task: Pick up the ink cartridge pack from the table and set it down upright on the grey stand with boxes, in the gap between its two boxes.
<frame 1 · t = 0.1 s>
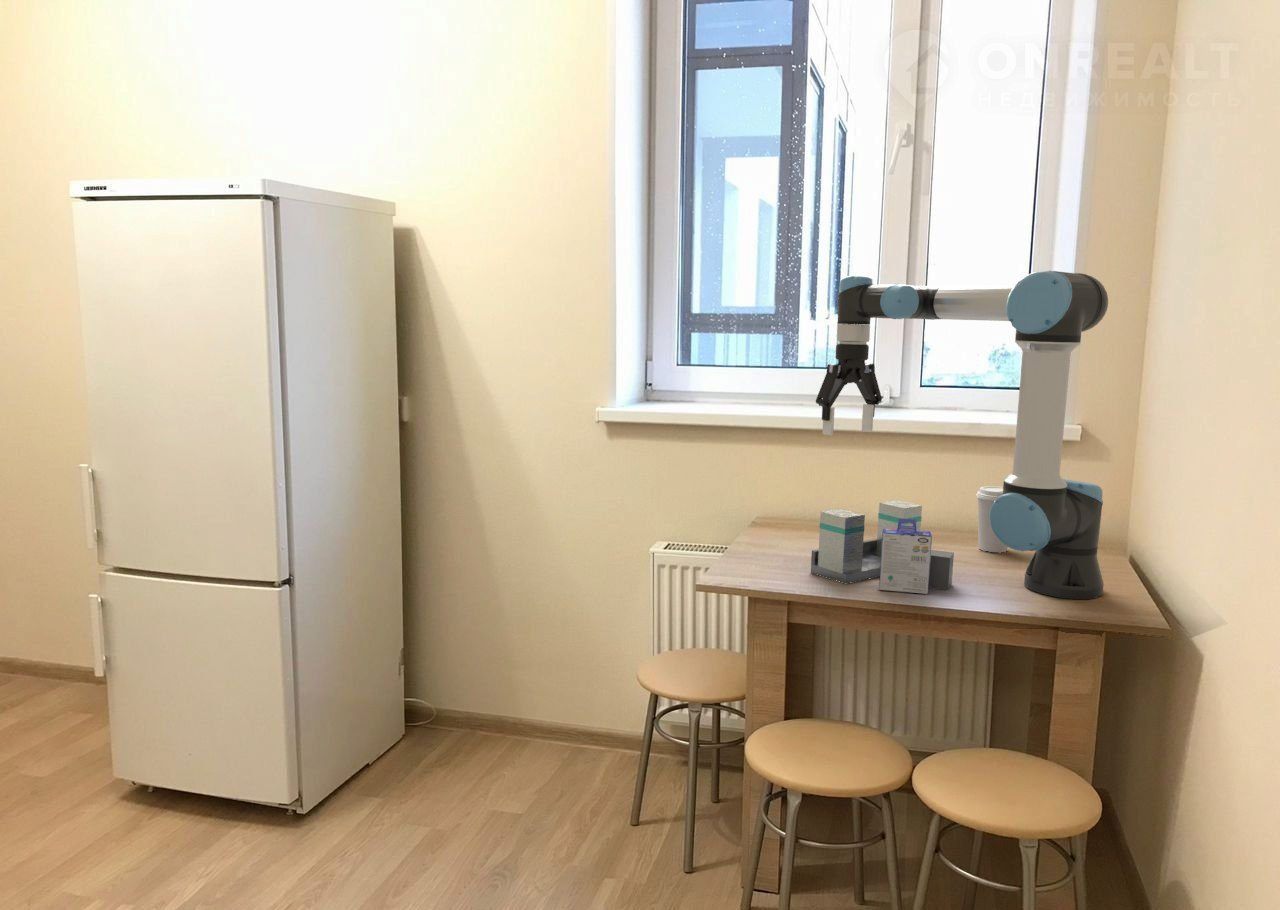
hand: (847, 433, 226), 28 cm above the table, tool pointing down, fingers open, 13 cm apart
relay: (932, 585, 200), on the table
grey stand with boxes: (866, 570, 210), on the table
ink cartridge box: (903, 590, 196), on the table
coffee cup: (992, 550, 231), on the table
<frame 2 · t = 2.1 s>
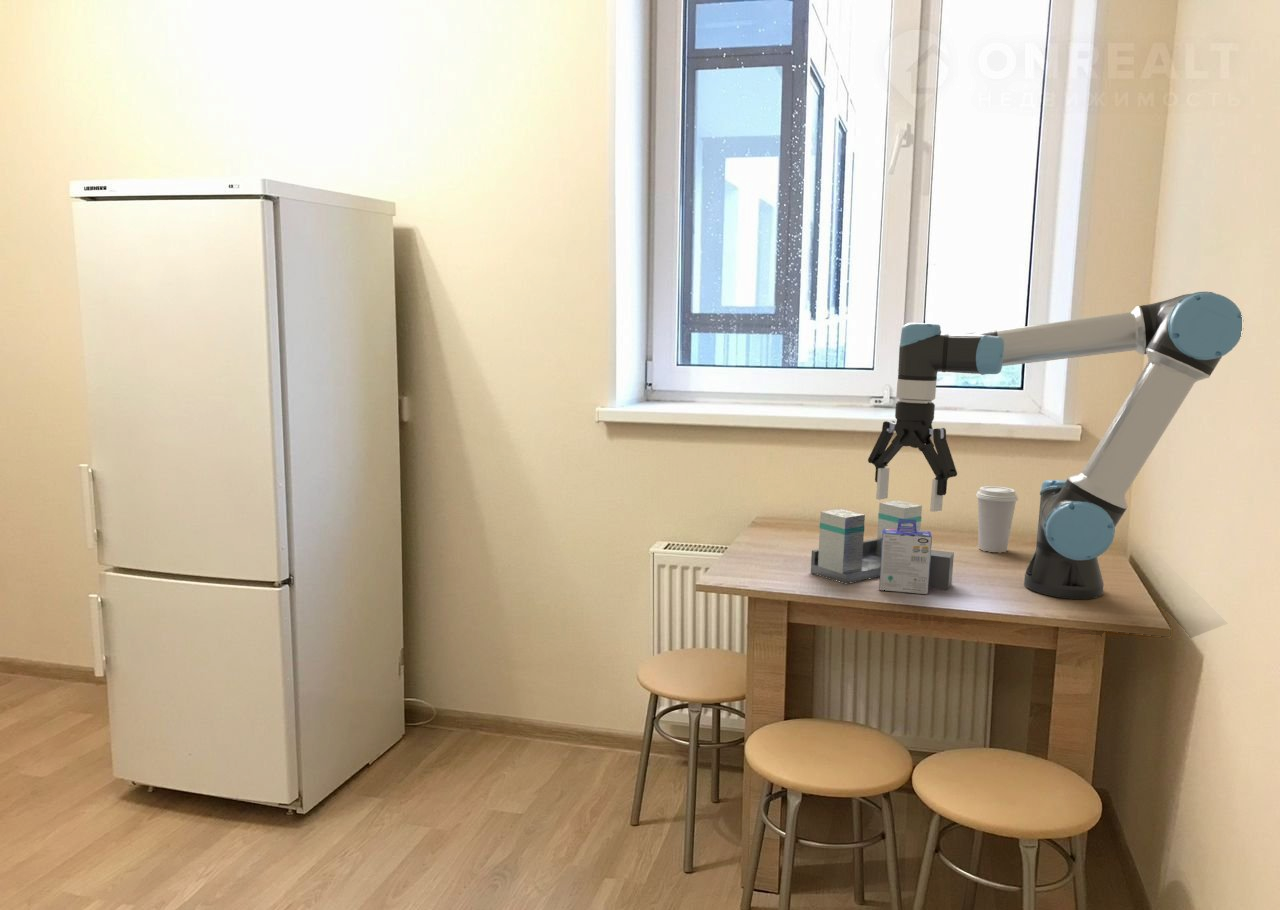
hand: (908, 504, 194), 18 cm above the table, tool pointing down, fingers open, 13 cm apart
nothing on the table moved.
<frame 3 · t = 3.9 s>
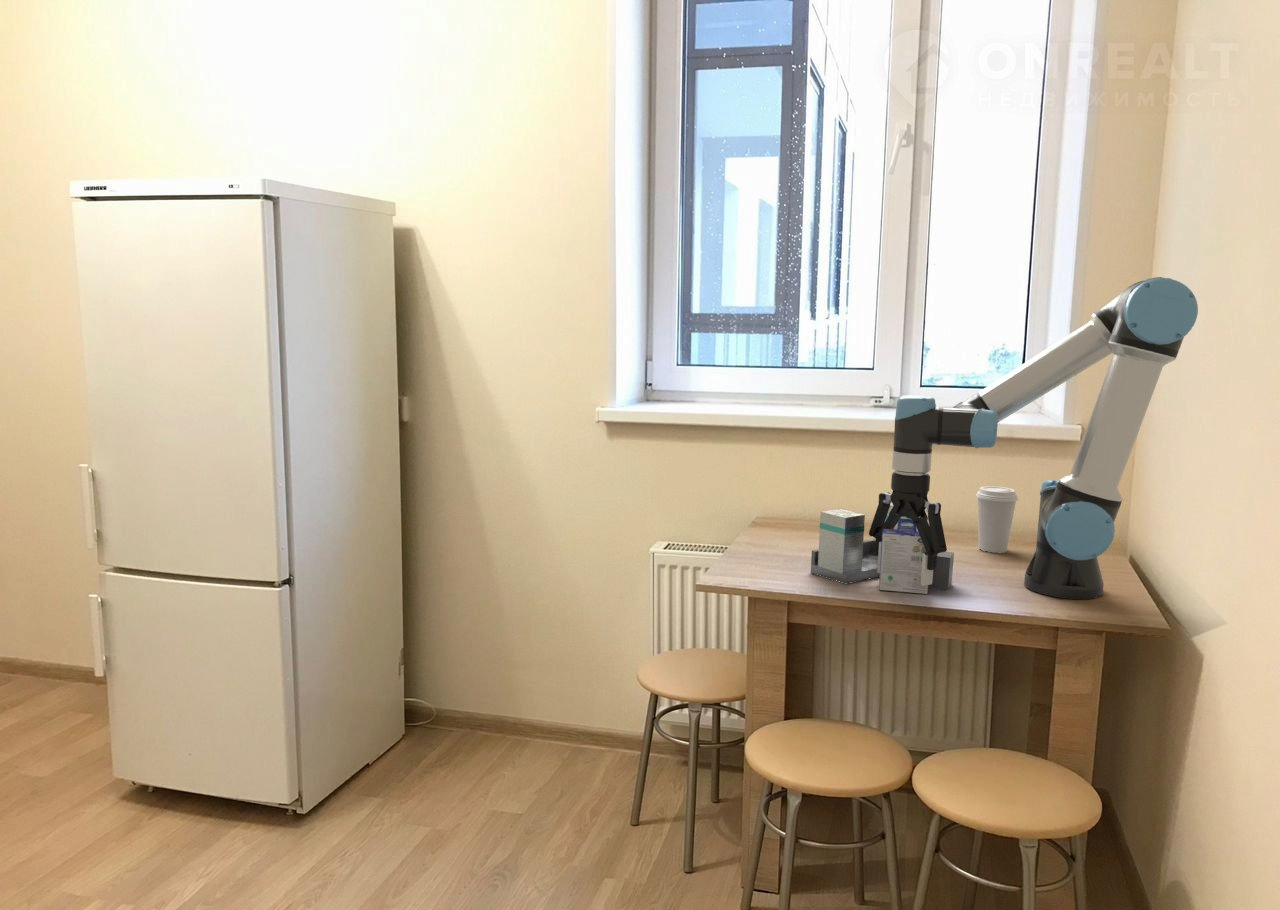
hand: (904, 578, 196), 2 cm above the table, tool pointing down, fingers closed on ink cartridge box, 10 cm apart
ink cartridge box: (903, 590, 196), on the table, touching gripper
everything else where it was.
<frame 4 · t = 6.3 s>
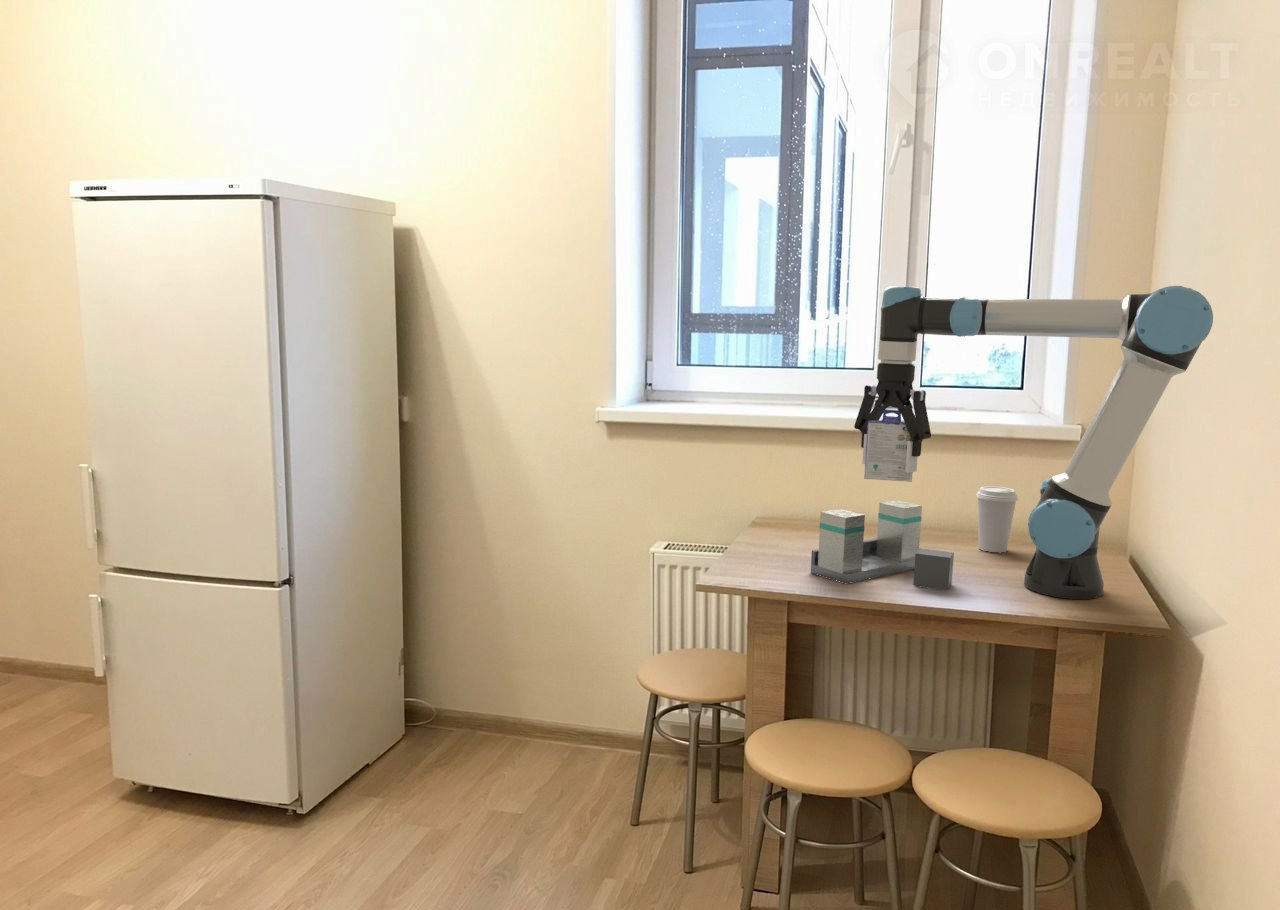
hand: (888, 467, 200), 24 cm above the table, tool pointing down, fingers closed on ink cartridge box, 10 cm apart
ink cartridge box: (887, 480, 200), point 22 cm above the table, touching gripper
everything else where it was.
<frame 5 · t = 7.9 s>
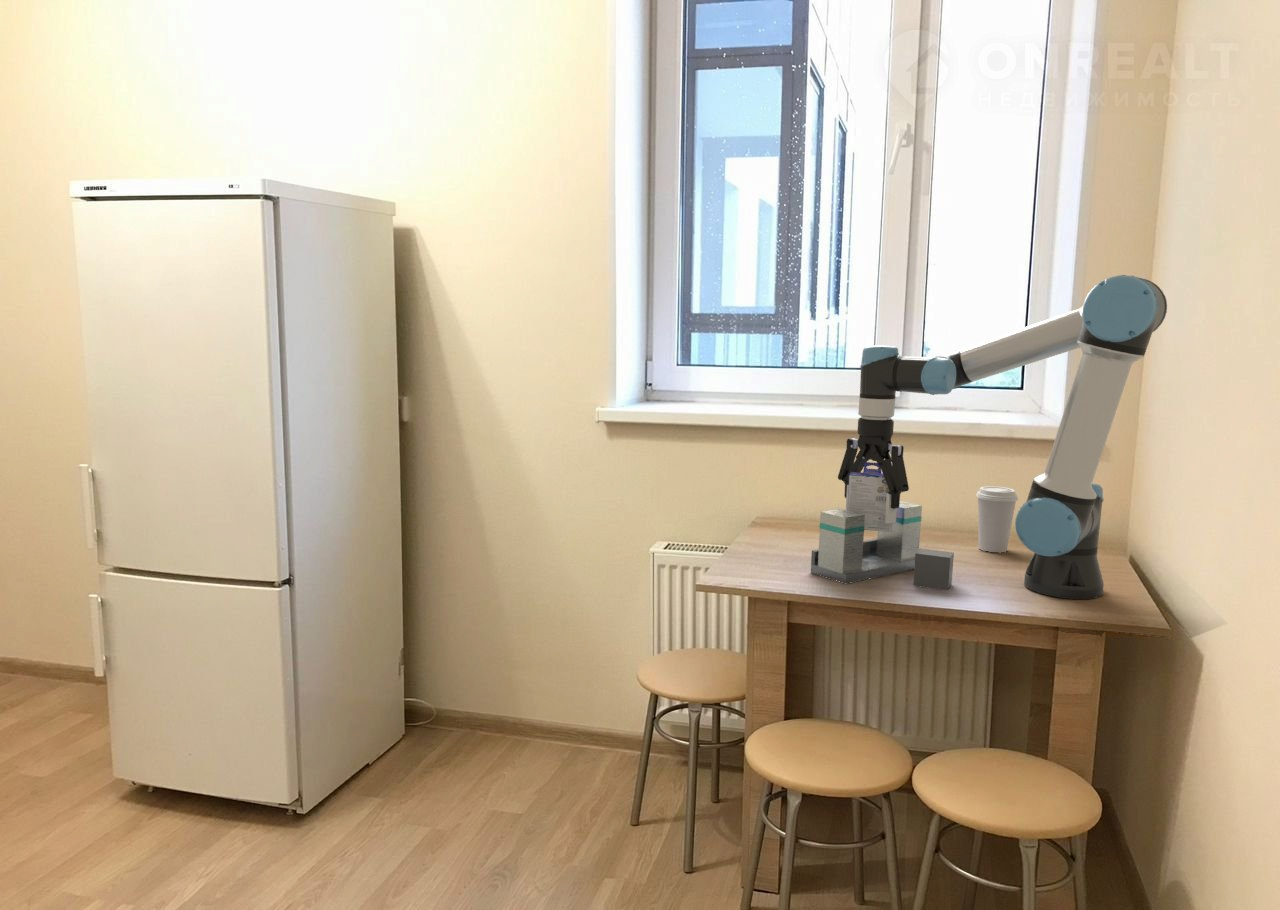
hand: (870, 517, 209), 12 cm above the table, tool pointing down, fingers closed on ink cartridge box, 10 cm apart
ink cartridge box: (869, 529, 209), point 9 cm above the table, touching gripper
everything else where it was.
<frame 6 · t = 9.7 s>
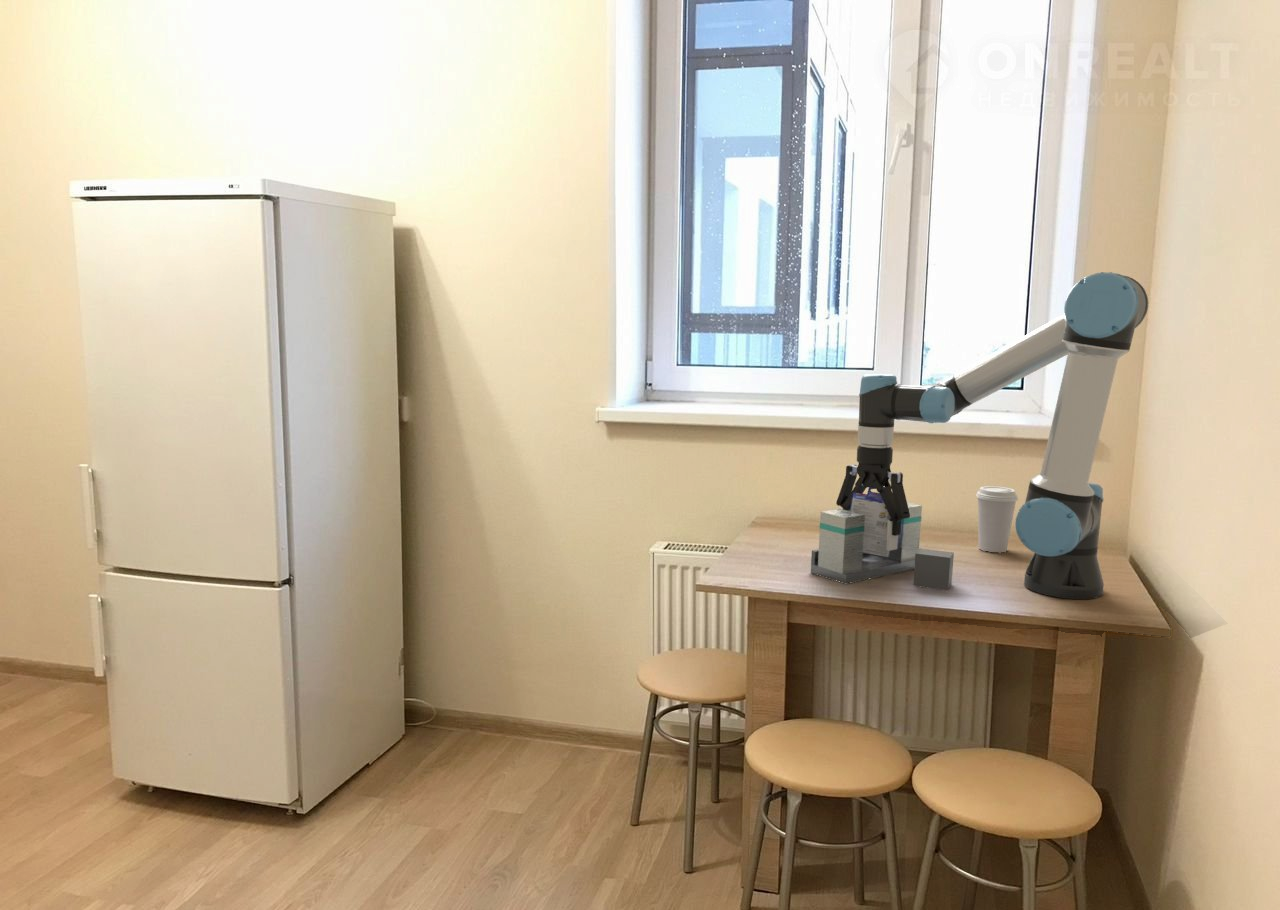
hand: (870, 544, 209), 6 cm above the table, tool pointing down, fingers closed on ink cartridge box, 11 cm apart
ink cartridge box: (866, 551, 210), point 4 cm above the table, touching gripper, grey stand with boxes
everything else where it was.
when the fingers open (6 cm above the table, at t = 9.9 s): ink cartridge box drops 2 cm, resting on grey stand with boxes.
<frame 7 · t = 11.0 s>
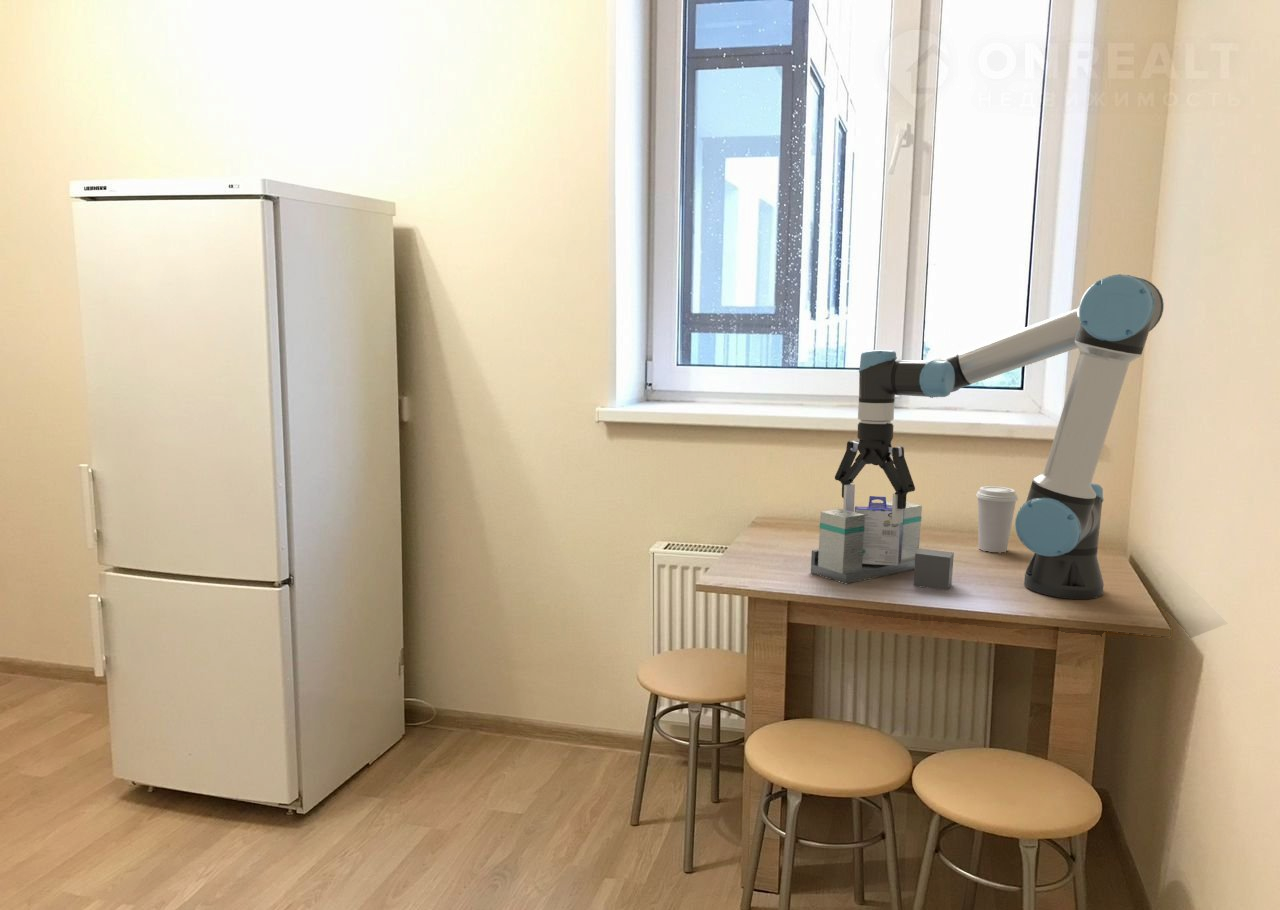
hand: (872, 518, 208), 12 cm above the table, tool pointing down, fingers open, 13 cm apart
ink cartridge box: (875, 563, 208), point 2 cm above the table, touching grey stand with boxes
everything else where it was.
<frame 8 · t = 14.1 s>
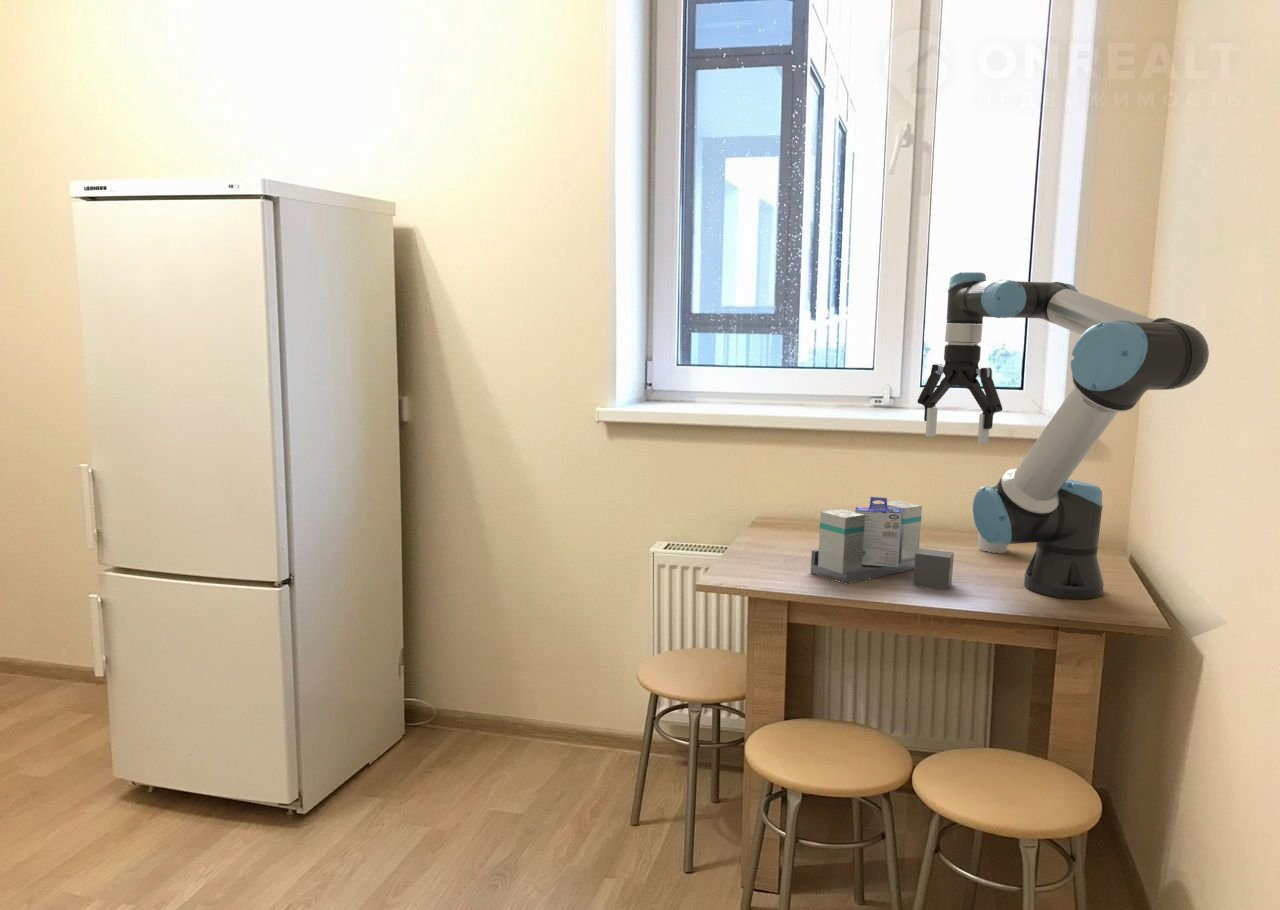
hand: (955, 440, 211), 29 cm above the table, tool pointing down, fingers open, 13 cm apart
nothing on the table moved.
at the end: ink cartridge box inside the target area on the grey stand with boxes (2.3 cm from its centre), point 1.8 cm above the grey stand with boxes's base; ink cartridge box tilted 0°; the gripper is holding nothing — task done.
